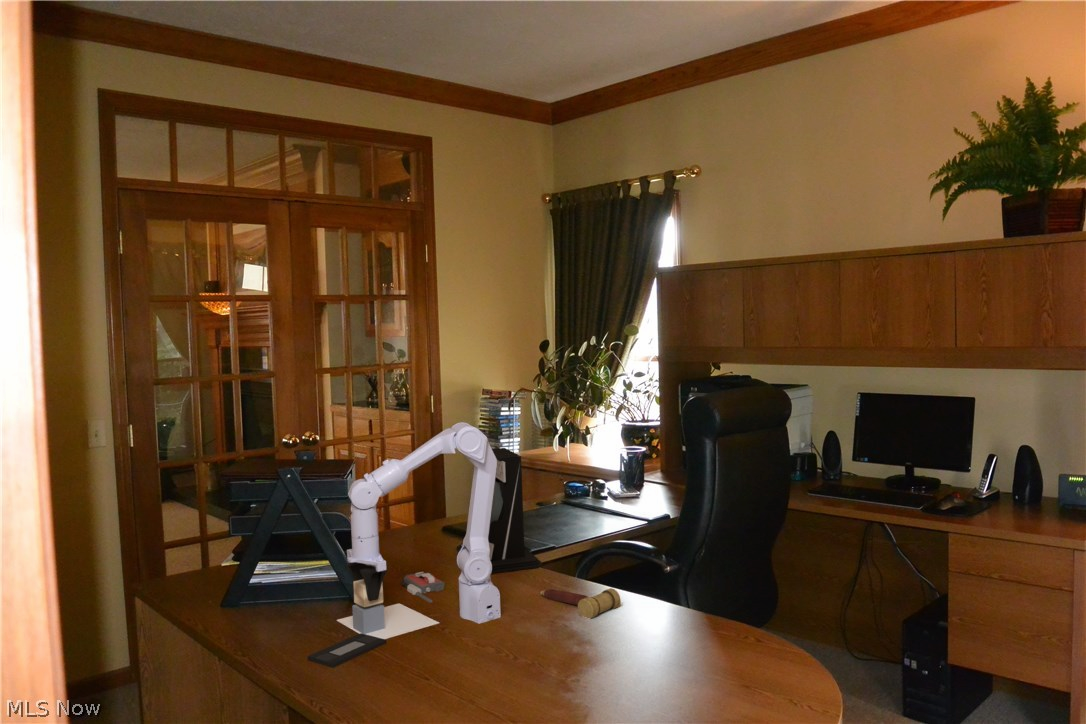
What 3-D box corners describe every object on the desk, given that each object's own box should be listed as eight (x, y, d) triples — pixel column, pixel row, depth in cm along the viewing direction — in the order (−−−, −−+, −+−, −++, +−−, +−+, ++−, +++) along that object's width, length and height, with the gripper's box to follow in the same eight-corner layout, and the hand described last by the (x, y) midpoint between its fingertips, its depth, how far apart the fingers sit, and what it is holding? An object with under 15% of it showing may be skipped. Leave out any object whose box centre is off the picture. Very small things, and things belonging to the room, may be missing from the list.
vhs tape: (307, 666, 165) (307, 656, 165) (361, 642, 177) (360, 633, 177) (333, 673, 161) (332, 663, 160) (386, 649, 172) (386, 639, 172)
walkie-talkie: (393, 588, 213) (427, 609, 197) (393, 571, 213) (427, 590, 196) (424, 581, 218) (460, 601, 201) (424, 564, 218) (460, 583, 201)
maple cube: (383, 602, 181) (382, 581, 181) (364, 607, 178) (363, 586, 178) (373, 597, 184) (372, 577, 184) (354, 602, 181) (353, 581, 181)
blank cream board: (439, 627, 183) (439, 622, 183) (374, 646, 173) (373, 642, 173) (399, 607, 197) (399, 603, 197) (336, 624, 187) (336, 620, 187)
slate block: (384, 628, 181) (383, 605, 181) (363, 634, 178) (362, 611, 177) (374, 622, 185) (373, 600, 185) (353, 628, 182) (352, 605, 181)
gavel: (525, 588, 199) (554, 578, 206) (527, 607, 199) (555, 596, 206) (591, 600, 185) (620, 589, 192) (593, 621, 185) (621, 609, 192)
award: (454, 548, 250) (451, 448, 248) (514, 541, 255) (511, 444, 254) (477, 576, 220) (473, 463, 219) (544, 568, 226) (541, 458, 225)
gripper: (333, 532, 183) (336, 593, 184) (363, 544, 172) (366, 609, 173) (362, 527, 188) (365, 586, 188) (394, 538, 177) (396, 601, 177)
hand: (367, 597), depth 181 cm, fingers closed on maple cube, 4 cm apart
